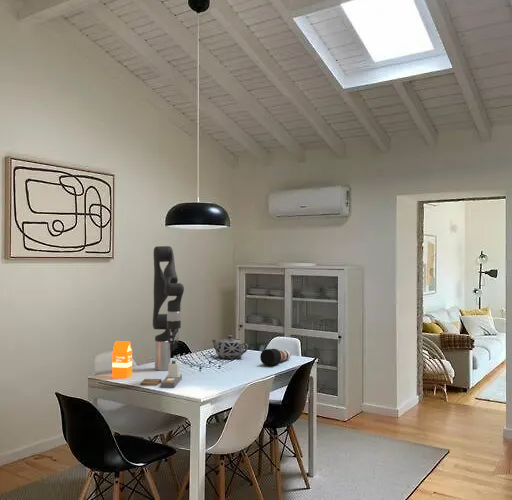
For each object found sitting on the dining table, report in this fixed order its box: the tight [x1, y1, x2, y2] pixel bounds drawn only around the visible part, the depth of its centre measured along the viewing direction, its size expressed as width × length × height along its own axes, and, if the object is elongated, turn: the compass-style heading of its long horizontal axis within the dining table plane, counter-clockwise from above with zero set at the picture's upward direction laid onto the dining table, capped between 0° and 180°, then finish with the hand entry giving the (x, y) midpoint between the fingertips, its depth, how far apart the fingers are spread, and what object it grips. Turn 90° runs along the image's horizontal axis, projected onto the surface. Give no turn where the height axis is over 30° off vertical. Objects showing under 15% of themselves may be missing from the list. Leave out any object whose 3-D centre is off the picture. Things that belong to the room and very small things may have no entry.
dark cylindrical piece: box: [259, 348, 292, 366], centre depth 359 cm, size 10×34×10 cm, turn 149°
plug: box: [167, 360, 180, 376], centre depth 301 cm, size 4×5×8 cm
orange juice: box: [111, 340, 133, 379], centre depth 312 cm, size 8×9×20 cm
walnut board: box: [139, 378, 162, 386], centre depth 296 cm, size 10×9×1 cm
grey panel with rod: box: [160, 373, 183, 389], centre depth 300 cm, size 30×7×3 cm, turn 177°
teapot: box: [210, 335, 249, 360], centre depth 376 cm, size 19×31×15 cm, turn 60°
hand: (173, 349), depth 301 cm, fingers open, 8 cm apart
